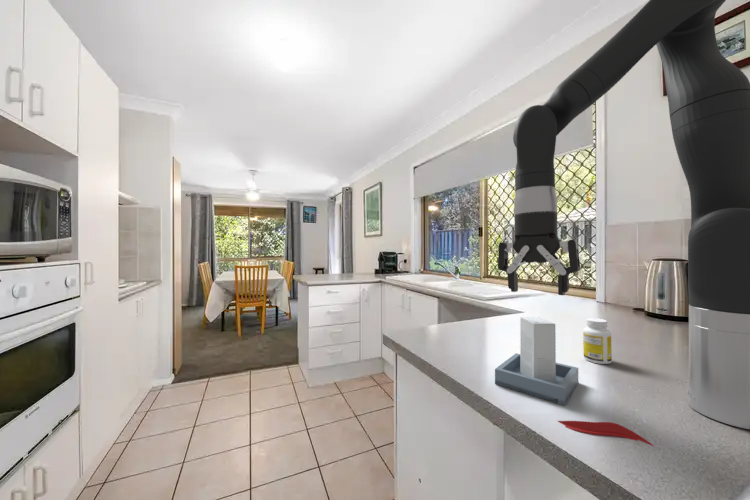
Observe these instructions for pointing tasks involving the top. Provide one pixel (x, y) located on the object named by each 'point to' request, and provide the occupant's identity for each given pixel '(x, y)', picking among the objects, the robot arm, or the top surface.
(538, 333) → the skincare box
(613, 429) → the cayenne pepper
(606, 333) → the supplement bottle
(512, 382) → the tray
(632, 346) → the top surface
